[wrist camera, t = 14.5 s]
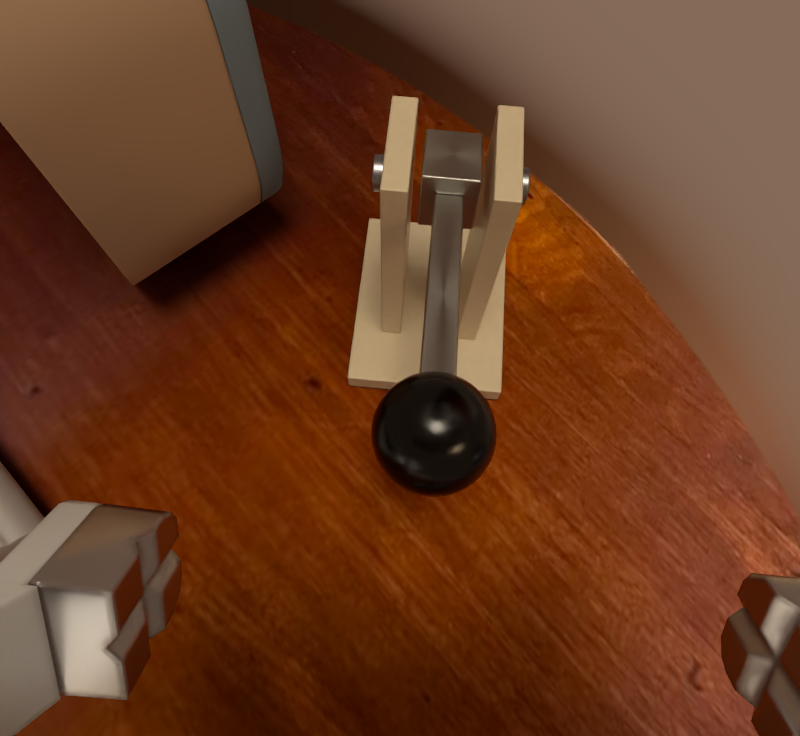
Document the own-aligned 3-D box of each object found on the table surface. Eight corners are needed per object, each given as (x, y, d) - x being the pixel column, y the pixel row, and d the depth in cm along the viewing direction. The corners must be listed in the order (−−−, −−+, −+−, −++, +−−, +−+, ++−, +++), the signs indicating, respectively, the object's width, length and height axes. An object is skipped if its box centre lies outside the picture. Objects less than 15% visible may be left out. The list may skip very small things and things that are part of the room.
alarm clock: (305, 235, 35) (194, -269, 14) (168, 329, 32) (-197, -122, 12) (121, 43, 40) (-146, -518, 20) (-9, 111, 37) (-463, -453, 17)
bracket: (497, 400, 31) (567, 276, 19) (348, 385, 31) (325, 253, 19) (502, 242, 35) (563, 56, 23) (369, 229, 35) (361, 38, 23)
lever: (485, 519, 17) (508, 474, 14) (364, 507, 17) (363, 459, 14) (488, 195, 25) (504, 120, 22) (404, 188, 25) (409, 112, 22)
